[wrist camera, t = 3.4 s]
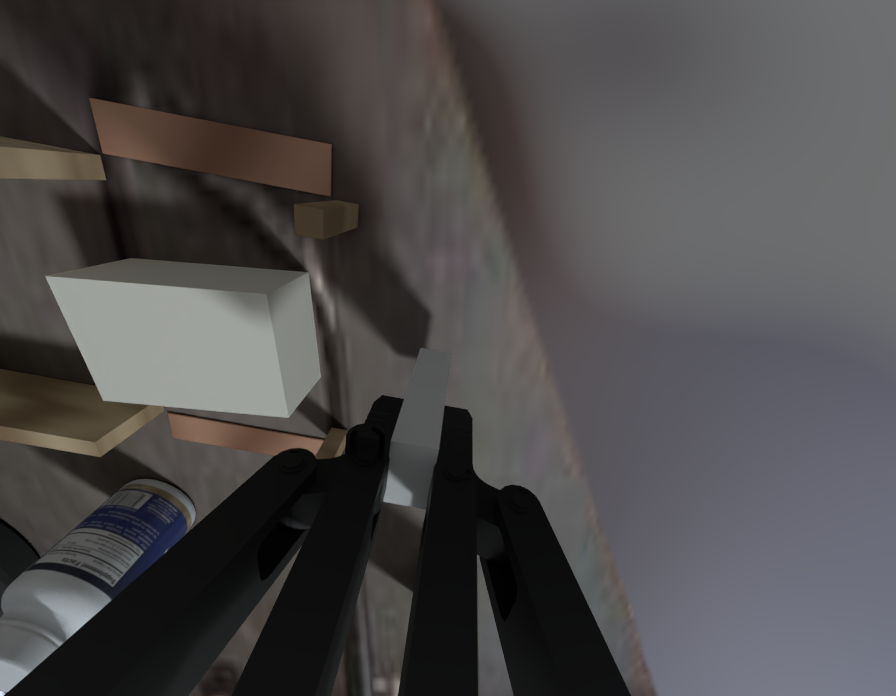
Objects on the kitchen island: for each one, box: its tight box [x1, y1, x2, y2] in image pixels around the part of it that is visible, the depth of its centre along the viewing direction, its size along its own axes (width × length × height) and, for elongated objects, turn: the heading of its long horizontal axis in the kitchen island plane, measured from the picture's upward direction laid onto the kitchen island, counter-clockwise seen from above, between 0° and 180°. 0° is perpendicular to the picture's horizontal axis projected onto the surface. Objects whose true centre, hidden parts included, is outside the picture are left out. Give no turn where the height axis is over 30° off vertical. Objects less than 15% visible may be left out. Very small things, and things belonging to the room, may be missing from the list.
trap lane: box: [0, 98, 359, 459], centre depth 15 cm, size 23×18×6 cm
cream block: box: [45, 258, 321, 418], centre depth 16 cm, size 9×6×4 cm, turn 86°
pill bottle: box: [0, 479, 196, 692], centre depth 20 cm, size 5×5×10 cm
